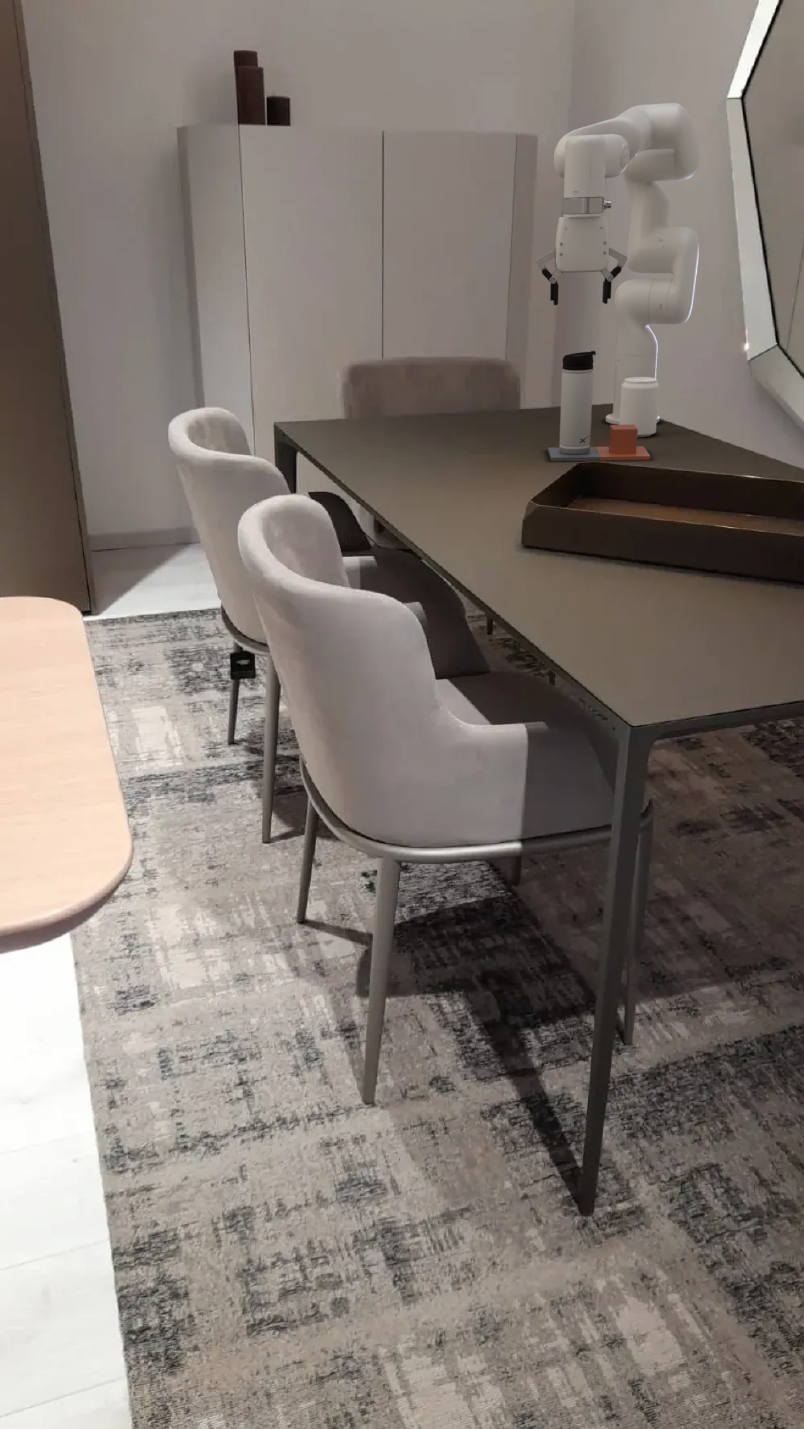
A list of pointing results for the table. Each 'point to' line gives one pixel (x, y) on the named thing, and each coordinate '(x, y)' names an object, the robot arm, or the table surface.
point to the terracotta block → (623, 439)
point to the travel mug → (576, 403)
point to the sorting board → (598, 455)
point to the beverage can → (640, 404)
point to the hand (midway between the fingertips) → (580, 303)
